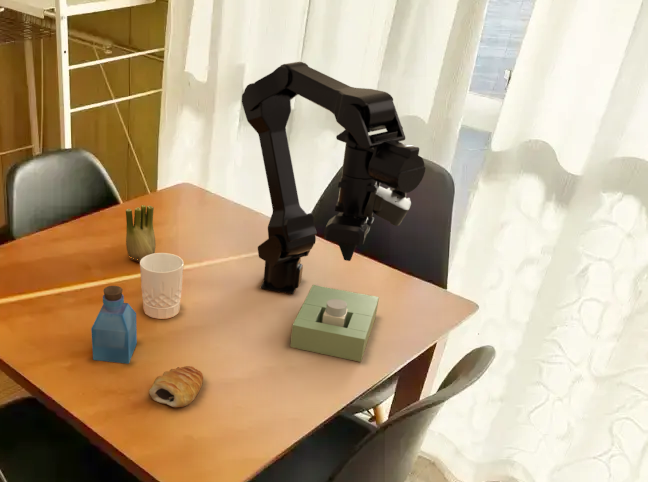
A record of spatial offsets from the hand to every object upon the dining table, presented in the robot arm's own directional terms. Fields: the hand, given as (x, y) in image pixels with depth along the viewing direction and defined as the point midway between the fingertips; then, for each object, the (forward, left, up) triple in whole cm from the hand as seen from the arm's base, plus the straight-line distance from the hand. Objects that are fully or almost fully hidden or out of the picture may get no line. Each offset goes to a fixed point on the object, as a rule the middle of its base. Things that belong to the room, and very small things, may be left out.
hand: (347, 259), depth 129 cm
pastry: (-19, -31, -13) cm, 39 cm away
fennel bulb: (-43, +10, -13) cm, 46 cm away
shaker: (0, -4, -9) cm, 10 cm away
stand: (0, -4, -12) cm, 13 cm away
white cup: (-31, -8, -13) cm, 35 cm away
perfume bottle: (-33, -24, -13) cm, 43 cm away
